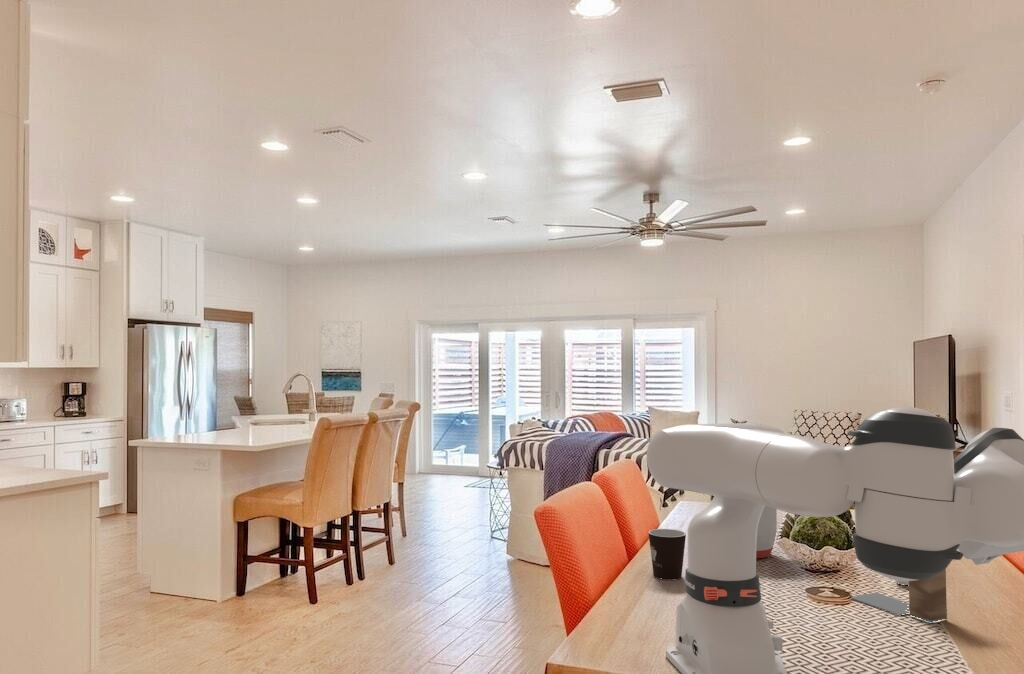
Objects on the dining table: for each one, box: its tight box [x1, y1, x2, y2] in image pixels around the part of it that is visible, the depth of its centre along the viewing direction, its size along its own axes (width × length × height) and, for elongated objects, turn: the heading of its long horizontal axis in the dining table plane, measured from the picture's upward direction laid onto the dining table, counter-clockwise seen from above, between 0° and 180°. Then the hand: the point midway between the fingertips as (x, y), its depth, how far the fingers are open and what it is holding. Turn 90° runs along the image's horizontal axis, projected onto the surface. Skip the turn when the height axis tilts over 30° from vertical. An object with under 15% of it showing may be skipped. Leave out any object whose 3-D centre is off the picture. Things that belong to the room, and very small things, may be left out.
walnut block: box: [908, 568, 948, 622], centre depth 142 cm, size 4×4×12 cm
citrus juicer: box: [756, 506, 778, 559], centre depth 191 cm, size 16×17×20 cm
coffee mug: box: [648, 528, 687, 580], centre depth 172 cm, size 12×9×10 cm
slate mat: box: [850, 592, 909, 615], centre depth 150 cm, size 12×8×1 cm, turn 23°
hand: (978, 560), depth 133 cm, fingers closed
